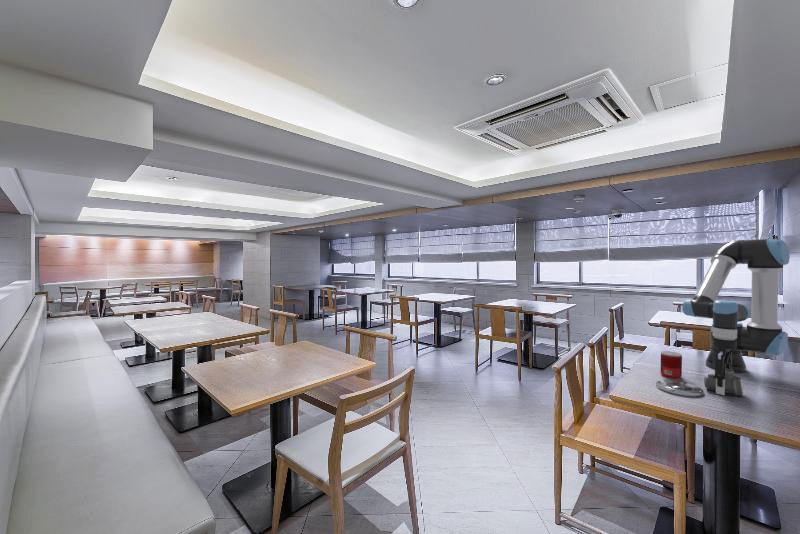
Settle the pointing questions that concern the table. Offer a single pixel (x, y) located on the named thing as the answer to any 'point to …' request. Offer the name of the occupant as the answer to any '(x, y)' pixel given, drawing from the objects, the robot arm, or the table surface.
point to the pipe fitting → (726, 382)
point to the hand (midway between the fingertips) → (723, 391)
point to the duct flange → (679, 388)
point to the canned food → (671, 364)
